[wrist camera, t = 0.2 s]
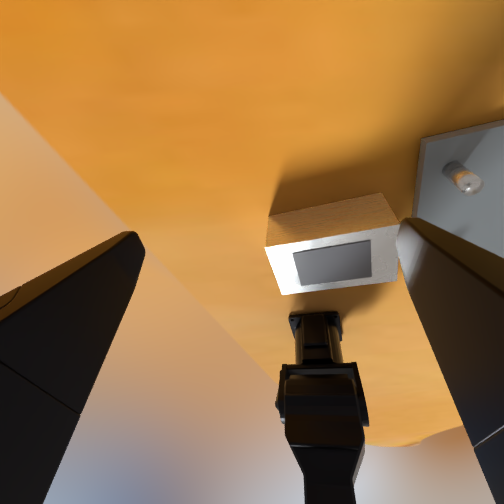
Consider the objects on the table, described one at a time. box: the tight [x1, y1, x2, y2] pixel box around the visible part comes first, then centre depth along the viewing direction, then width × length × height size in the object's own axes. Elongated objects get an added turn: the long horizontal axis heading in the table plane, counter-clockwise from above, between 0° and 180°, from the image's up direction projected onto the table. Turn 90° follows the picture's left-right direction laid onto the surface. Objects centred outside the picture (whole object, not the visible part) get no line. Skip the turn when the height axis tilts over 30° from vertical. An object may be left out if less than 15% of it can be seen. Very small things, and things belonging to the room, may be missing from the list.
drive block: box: [265, 192, 400, 295], centre depth 23 cm, size 6×10×5 cm, turn 108°
